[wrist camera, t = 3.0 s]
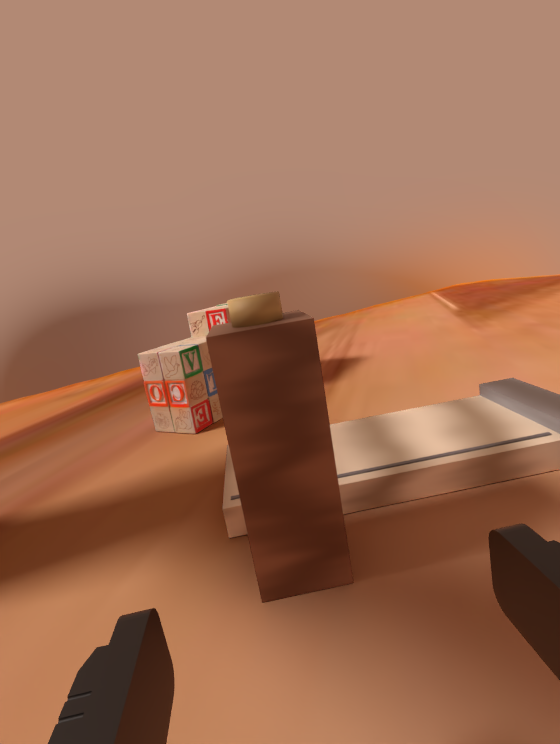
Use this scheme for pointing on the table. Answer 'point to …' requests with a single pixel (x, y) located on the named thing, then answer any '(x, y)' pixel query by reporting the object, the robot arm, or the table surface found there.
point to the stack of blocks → (184, 377)
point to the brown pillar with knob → (280, 446)
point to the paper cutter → (435, 449)
